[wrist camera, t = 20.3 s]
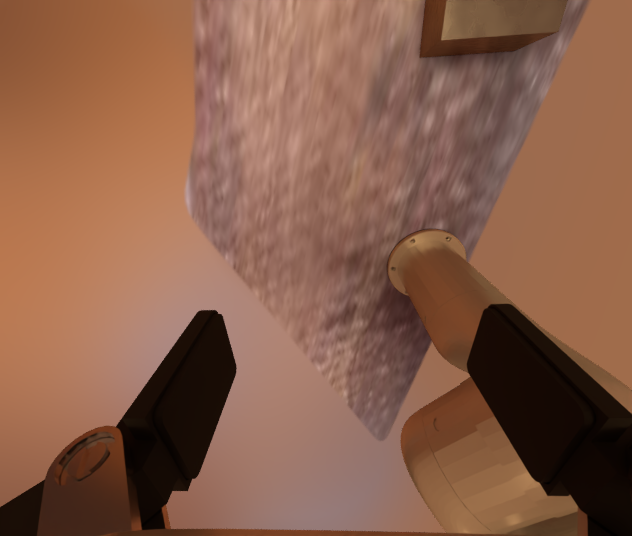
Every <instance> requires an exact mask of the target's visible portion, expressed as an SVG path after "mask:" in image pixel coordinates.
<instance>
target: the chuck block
mask: <svg viewBox="0 0 632 536" xmlns="http://www.w3.org/2000/svg"><path fill="white" fill-rule="evenodd" d="M567 1H568V0H426V2H425V11H424V21H423V30H422V39H421V48H420V57H419V58H422V57H437V56H451V55H465V54H480V53H494V52H508V51H515V50H518V49H520V48H522V47H524V46H527V45H529V44H531V43H534V42H536V41H538V40H541V39H543V38H545V37H547V36H550V35H552V34H554V33H557V32H558V31H559V27H560V24H561V21H562V17H563V14H564V11H565V7H566V4H567Z"/></svg>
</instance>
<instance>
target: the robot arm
mask: <svg viewBox="0 0 632 536" xmlns="http://www.w3.org/2000/svg"><path fill="white" fill-rule="evenodd" d="M446 237H447V238H446ZM411 239H412V240H411ZM410 240H411V241H410ZM388 275H389V278H390V281H391V283H392V284H393V286H394V287H395V288H396V289H397V290H398V291H399V292H401V293H402V294H404V295H407V296H409V297H410V299H411V301H412V303H413V305H414V307H415V309H416V311H417V313H418V315H419V317H420V319H421V321H422V322H423V324H424V326H425V328H426V330H427V332H428V334H429V336H430V338H431V340H432V342H433V343H434V345H435V347H436V349H437V350H438V352H439V353H440V354H441V355H442V356H443V357H444V358H445V359H446V360H447V361H448V362H449V363H451V364H452V365H454V366H456V367H457V368H459V369H461V370H463V371H466V372H468V373H469V374H470V376H471V377H469V378H468V379H467V380H465V381H463V382H462V383H461V384H460V385H459V386H457V387H456V388H454V389H452V390H451V391H449V392H447V393H446V394H444V395H443V396H441V397H439V398H438V399H436V400H434V401H433V402H431V403H429V404H428V405H426V406H424V407H423V408H421V409H420V410H418V411H417V412H415V413H414V414H413V415H412V416H411V417H409V419H408V420H407V421H406V422H405V424H404V426H403V428H402V433H401V450H402V454H403V458H404V462H405V464H406V467H407V470H408V472H409V474H410V476H411V478H412V481H413V482H414V484H415V486H416V488H417V490H418V492H419V493H420V495H421V497H422V498H423V500H424V501H425V503H426V505H427V506H428V508H429V509H430V511H431V512H432V513H433V515H434V516H435V518H436V519H437V521H438V522H439V523H440V525H441V526H442V527H443V529H444V530H445V532H446V533H425V532H381V531H331V530H267V529H266V530H265V529H171V527H170V522H169V518H168V512H167V508H166V504H167V502H168V500H169V497H170V495H171V493H172V491H188V489H189V486H190V483H191V481H192V479H195V478H196V477H197V476H198V474H199V472H200V470H201V467H202V464H203V462H204V459H205V456H206V454H207V451H208V448H209V446H210V443H211V440H212V437H213V435H214V432H215V429H216V426H217V424H218V421H219V418H220V416H221V413H222V410H223V408H224V405H225V402H226V399H227V397H228V394H229V391H230V389H231V386H232V383H233V380H234V378H235V375H236V363H235V359H234V356H233V352H232V348H231V345H230V341H229V338H228V334H227V330H226V327H225V323H224V320H223V316H222V315H221V314H218V312H217V311H216V310H202V311H199V312H197V314H196V315H195V316H194V318H193V319H192V321H191V322H190V324H189V325H188V326H187V328H186V329H185V330H184V332H183V333H182V335H181V336H180V337H179V339H178V340H177V342H176V343H175V345H174V346H173V347H172V349H171V350H170V352H169V353H168V354H167V356H166V357H165V358H164V360H163V361H162V363H161V364H160V366H159V367H158V368H157V370H156V371H155V373H154V374H153V375H152V377H151V378H150V380H149V381H148V382H147V384H146V385H145V387H144V388H143V389H142V391H141V392H140V394H139V395H138V396H137V398H136V399H135V401H134V402H133V403H132V405H131V406H130V408H129V409H128V410H127V412H126V413H125V415H124V416H123V418H122V419H121V420H120V422H119V423H118V425H117V426H116V427H114V426H103V427H98V428H95V429H93V430H91V431H88V432H86V433H85V434H83V435H82V436H80V437H78V438H77V439H75V440H74V441H73V442H71V443H70V444H69V445H68V446H67V447H65V449H63V450H62V452H61V453H60V454H59V455H58V456H57V457H56V458H55V460H54V461H53V463H52V464H51V466H50V467H49V469H48V472H47V475H46V478H45V480H43V481H42V482H40V483H39V484H37V485H35V486H34V487H32V488H30V489H29V490H27V491H26V492H24V493H22V494H21V495H19V496H18V497H16V498H14V499H13V500H11V501H10V502H8V503H6V504H5V505H3V506H1V507H0V536H632V390H631V389H630V388H629V387H628V386H626V385H625V384H624V383H622V382H621V381H620V380H618V379H617V378H615V377H614V376H613V375H611V374H610V373H608V372H607V371H606V370H604V369H603V368H601V367H600V366H598V365H596V364H595V363H593V362H592V361H590V360H589V359H587V358H585V357H584V356H582V355H581V354H580V353H578V352H577V351H575V350H573V349H572V348H570V347H569V346H567V345H566V344H564V343H563V342H562V341H560V340H559V339H557V338H556V337H554V336H553V335H552V334H550V333H549V332H547V331H546V330H545V329H543V328H542V327H541V326H539V324H537V323H536V322H535V321H534V320H532V319H531V318H530V317H529V316H528V315H526V314H525V313H524V312H523V311H522V310H520V309H519V308H518V307H517V306H516V305H515V304H514V303H513V302H512V301H510V300H509V299H508V298H507V297H506V296H504V294H502V293H501V292H500V291H499V290H498V289H497V288H496V287H495V286H493V285H492V284H491V283H490V282H489V281H488V280H487V279H486V278H485V277H484V276H482V275H481V274H480V273H479V272H478V271H477V270H476V269H475V268H474V267H472V266H471V265H470V264H469V263H468V262H467V261H466V252H465V249H464V246H463V245H462V243H461V242H460V241H459V240H458V239H457V238H456V237H455V236H453V235H452V234H450V233H448V232H446V231H443V230H438V229H427V230H421V231H418V232H415V233H413V234H411V235H409V236H407V237H406V238H404V239H403V240H402V241H401V242H400V243H399V244H398V245H397V246H396V247H395V248H394V250H393V251H392V253H391V255H390V257H389V261H388Z"/></svg>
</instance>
